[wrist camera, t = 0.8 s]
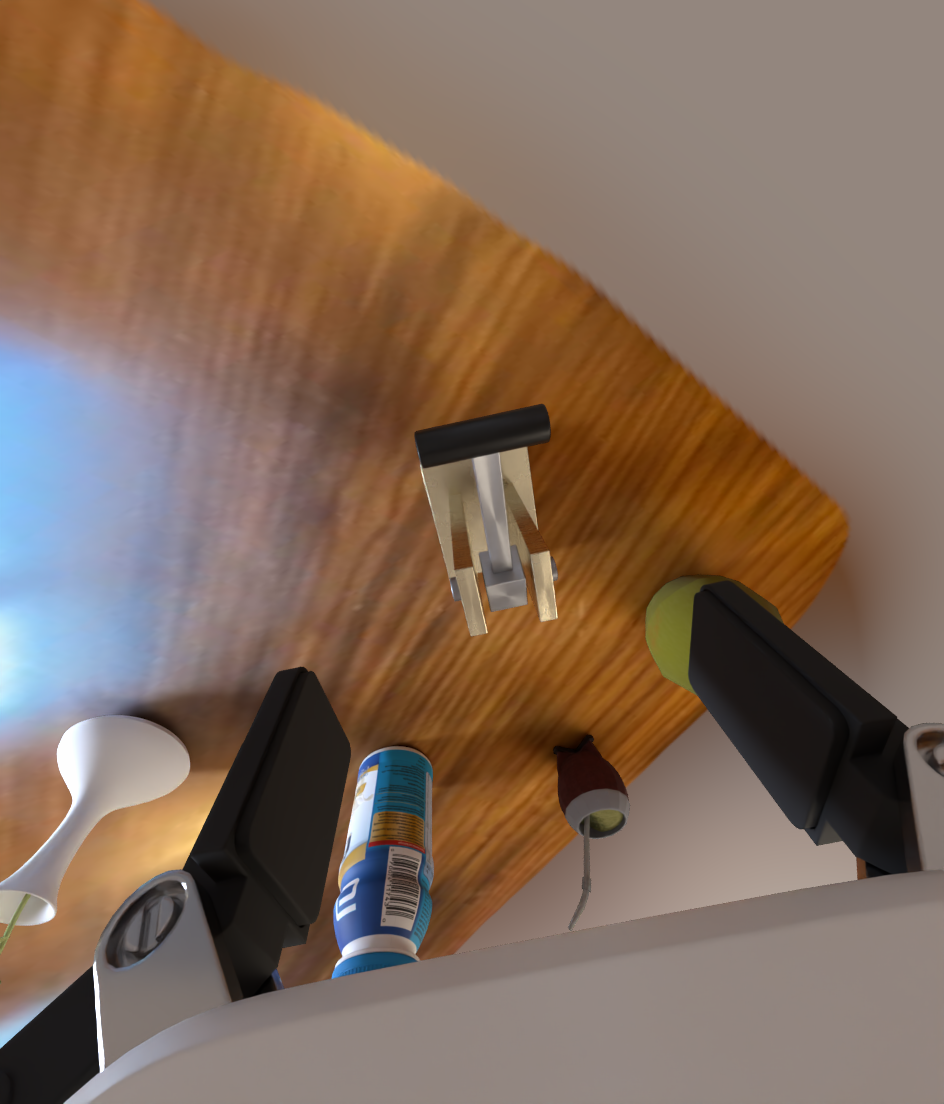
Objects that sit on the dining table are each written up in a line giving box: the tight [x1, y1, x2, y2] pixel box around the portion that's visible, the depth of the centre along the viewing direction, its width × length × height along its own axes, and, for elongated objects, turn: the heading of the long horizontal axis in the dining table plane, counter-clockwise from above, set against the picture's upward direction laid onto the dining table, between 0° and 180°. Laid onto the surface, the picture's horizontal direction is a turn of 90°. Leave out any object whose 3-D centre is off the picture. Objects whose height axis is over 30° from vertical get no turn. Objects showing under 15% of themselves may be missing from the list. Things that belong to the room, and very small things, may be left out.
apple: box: [645, 575, 784, 696], centre depth 34 cm, size 10×10×11 cm
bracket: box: [420, 447, 558, 636], centre depth 28 cm, size 10×8×13 cm
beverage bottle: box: [332, 746, 434, 979], centre depth 38 cm, size 8×8×20 cm
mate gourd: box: [553, 735, 630, 931], centre depth 42 cm, size 8×8×15 cm
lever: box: [415, 404, 551, 612], centre depth 20 cm, size 12×5×2 cm, turn 10°
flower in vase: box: [0, 715, 190, 984], centre depth 31 cm, size 13×11×25 cm
